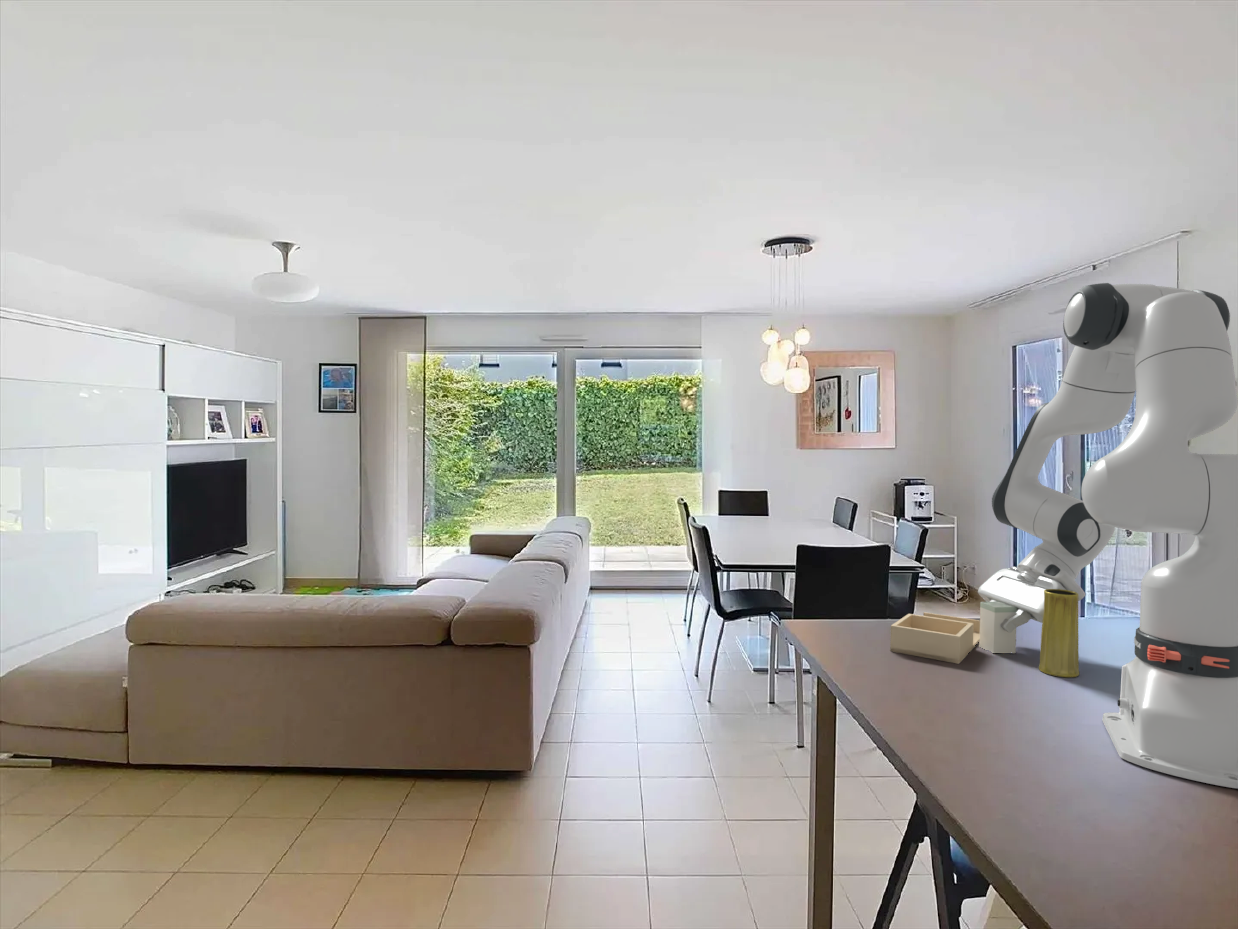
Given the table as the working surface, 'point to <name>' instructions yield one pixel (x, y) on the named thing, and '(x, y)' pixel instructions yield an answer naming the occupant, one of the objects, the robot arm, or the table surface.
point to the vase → (1060, 634)
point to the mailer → (935, 636)
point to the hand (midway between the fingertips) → (994, 625)
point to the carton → (996, 627)
